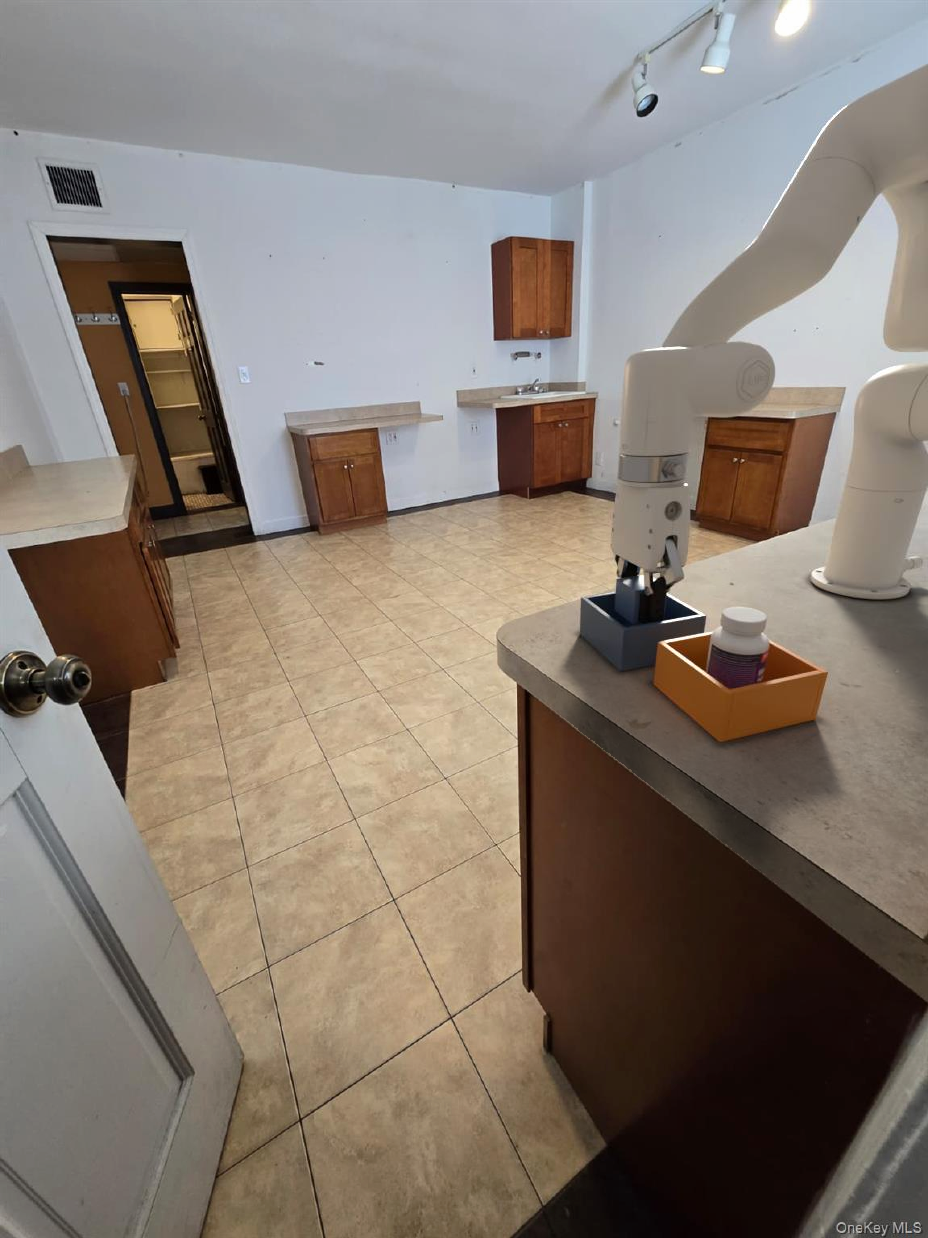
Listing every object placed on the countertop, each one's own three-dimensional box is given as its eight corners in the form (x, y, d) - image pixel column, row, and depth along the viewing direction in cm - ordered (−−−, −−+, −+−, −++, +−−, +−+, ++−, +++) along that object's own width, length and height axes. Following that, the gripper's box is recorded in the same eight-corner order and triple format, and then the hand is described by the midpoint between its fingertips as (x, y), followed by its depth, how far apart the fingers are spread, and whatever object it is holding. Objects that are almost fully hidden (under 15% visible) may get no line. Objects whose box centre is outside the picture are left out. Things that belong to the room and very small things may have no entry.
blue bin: (650, 620, 75) (653, 585, 72) (700, 655, 65) (706, 615, 62) (579, 633, 72) (580, 597, 70) (620, 671, 62) (623, 630, 60)
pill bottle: (765, 711, 52) (783, 626, 48) (708, 708, 54) (721, 624, 49) (749, 683, 57) (765, 603, 53) (697, 681, 58) (709, 602, 54)
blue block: (644, 605, 69) (647, 574, 67) (664, 618, 65) (667, 585, 63) (614, 610, 68) (616, 578, 66) (632, 624, 64) (635, 590, 62)
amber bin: (736, 667, 62) (743, 625, 59) (815, 719, 52) (828, 671, 49) (653, 684, 59) (657, 641, 57) (719, 742, 49) (728, 693, 47)
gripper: (732, 476, 52) (707, 635, 60) (640, 457, 67) (630, 587, 75) (666, 483, 51) (650, 646, 58) (588, 463, 66) (583, 594, 73)
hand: (639, 611), depth 66 cm, fingers closed on blue block, 4 cm apart
